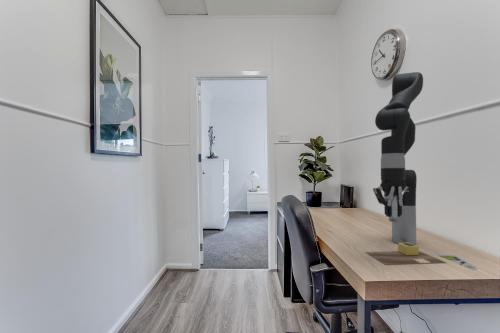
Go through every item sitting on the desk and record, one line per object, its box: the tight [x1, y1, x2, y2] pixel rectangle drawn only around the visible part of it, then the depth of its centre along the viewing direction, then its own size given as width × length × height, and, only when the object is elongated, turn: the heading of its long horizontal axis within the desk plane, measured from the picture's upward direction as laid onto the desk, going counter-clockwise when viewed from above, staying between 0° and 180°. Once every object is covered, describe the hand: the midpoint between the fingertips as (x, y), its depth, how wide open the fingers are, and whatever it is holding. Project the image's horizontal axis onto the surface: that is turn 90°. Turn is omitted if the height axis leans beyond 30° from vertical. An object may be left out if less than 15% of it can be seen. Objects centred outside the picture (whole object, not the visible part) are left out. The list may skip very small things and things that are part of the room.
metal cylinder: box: [388, 195, 398, 223], centre depth 93 cm, size 3×3×9 cm
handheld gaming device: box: [434, 253, 478, 270], centre depth 97 cm, size 9×1×15 cm
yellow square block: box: [397, 243, 419, 255], centre depth 101 cm, size 5×5×4 cm
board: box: [364, 250, 447, 266], centre depth 97 cm, size 14×22×2 cm, turn 95°
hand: (393, 216), depth 93 cm, fingers closed on metal cylinder, 2 cm apart
